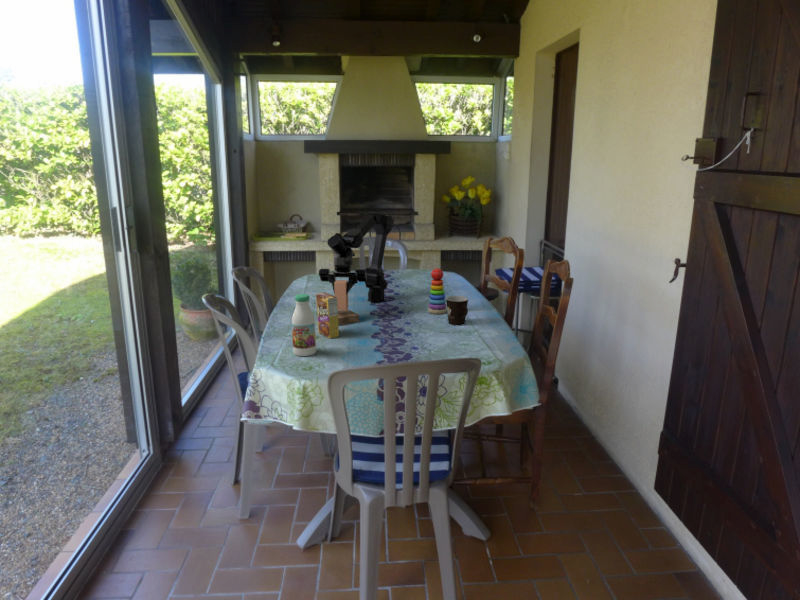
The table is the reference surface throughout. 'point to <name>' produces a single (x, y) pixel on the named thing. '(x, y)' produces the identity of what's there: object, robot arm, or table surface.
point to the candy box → (327, 315)
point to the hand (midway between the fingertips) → (340, 293)
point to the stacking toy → (437, 293)
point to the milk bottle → (303, 327)
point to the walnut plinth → (347, 317)
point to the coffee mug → (457, 309)
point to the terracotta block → (341, 294)
